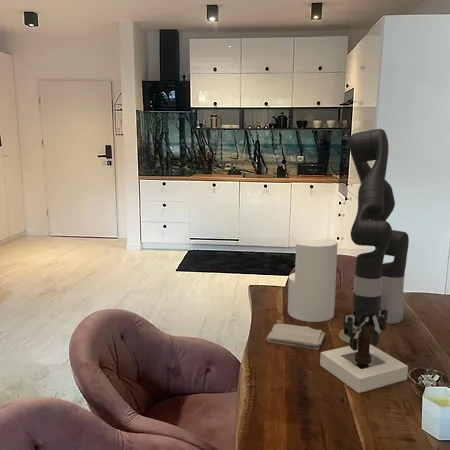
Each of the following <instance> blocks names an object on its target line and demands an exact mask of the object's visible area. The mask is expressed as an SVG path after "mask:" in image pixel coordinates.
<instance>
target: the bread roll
mask: <svg viewBox="0 0 450 450" xmlns="http://www.w3.org/2000/svg"><path fill="white" fill-rule="evenodd" d="M355 332H356V330H355V331H354V333H355ZM338 338H339V339H340V341H343V342H345V343H347V344H350V337H348V336H347V335H345V334H344V328H343V329H341V330H340V331H339V332H338ZM357 338H359V335H358V337H357Z"/></svg>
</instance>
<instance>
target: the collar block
mask: <svg viewBox="0 0 450 450" xmlns="http://www.w3.org/2000/svg"><path fill="white" fill-rule="evenodd" d="M357 352H358V349H357V350H356V351H354V350H352V349H351V348H350V346H349V345H347V346H343V347H338V348H333V349H329V350H325V351H321V352H320V356H319V357H320V358H319V359H320V361H319V365H320V367H322V368H324V369H325V370H326V371H327V372H329V373H331V374H332V375H333V376H334V377H336V378H337V379H339V381H341V382H343V383H344V384H345V385H346V386H348V387H349V388H351V389H352V390H354V391H355V392H357V394H361V393H364V392H368V391H372V390H375V389H378V388H382V387H385V386H390V385H392V384H395V383H398V382H399V383H400V382H403V381H407V380H408V372H409V365H407V364H405V363H403V362H402V361H400V360H398V359H396V358H395V357H393V356H391V355H390V354H388V353H386V352H384V351H382V350H381V349H379V348H377V347H376V346H374V345H372V344H370V348H369V354H370V355H371V363H370V364H368V368H365V369H360V368H359V367H357V362H356V361H355V353H357Z"/></svg>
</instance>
